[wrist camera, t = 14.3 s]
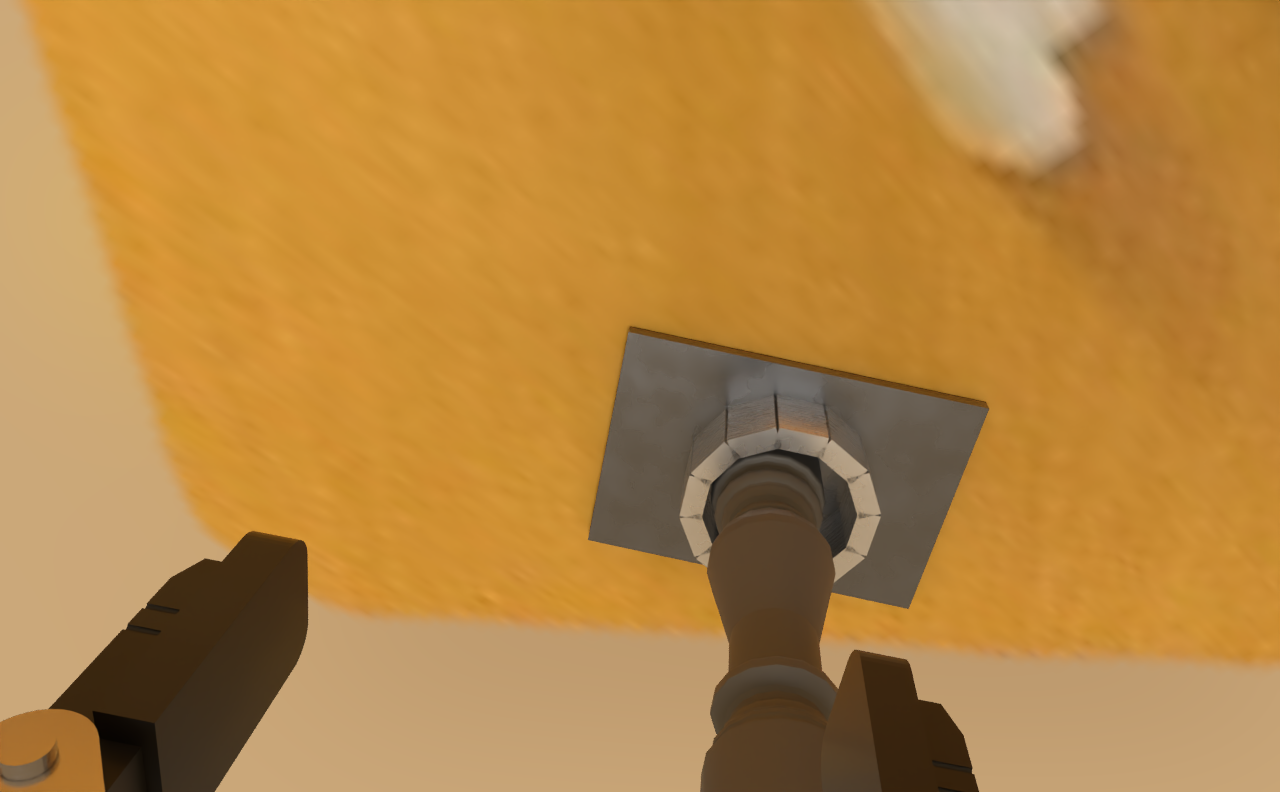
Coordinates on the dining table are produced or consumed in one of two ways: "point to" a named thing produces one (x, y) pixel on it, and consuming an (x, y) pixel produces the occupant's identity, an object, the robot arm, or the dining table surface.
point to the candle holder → (770, 625)
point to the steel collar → (789, 420)
